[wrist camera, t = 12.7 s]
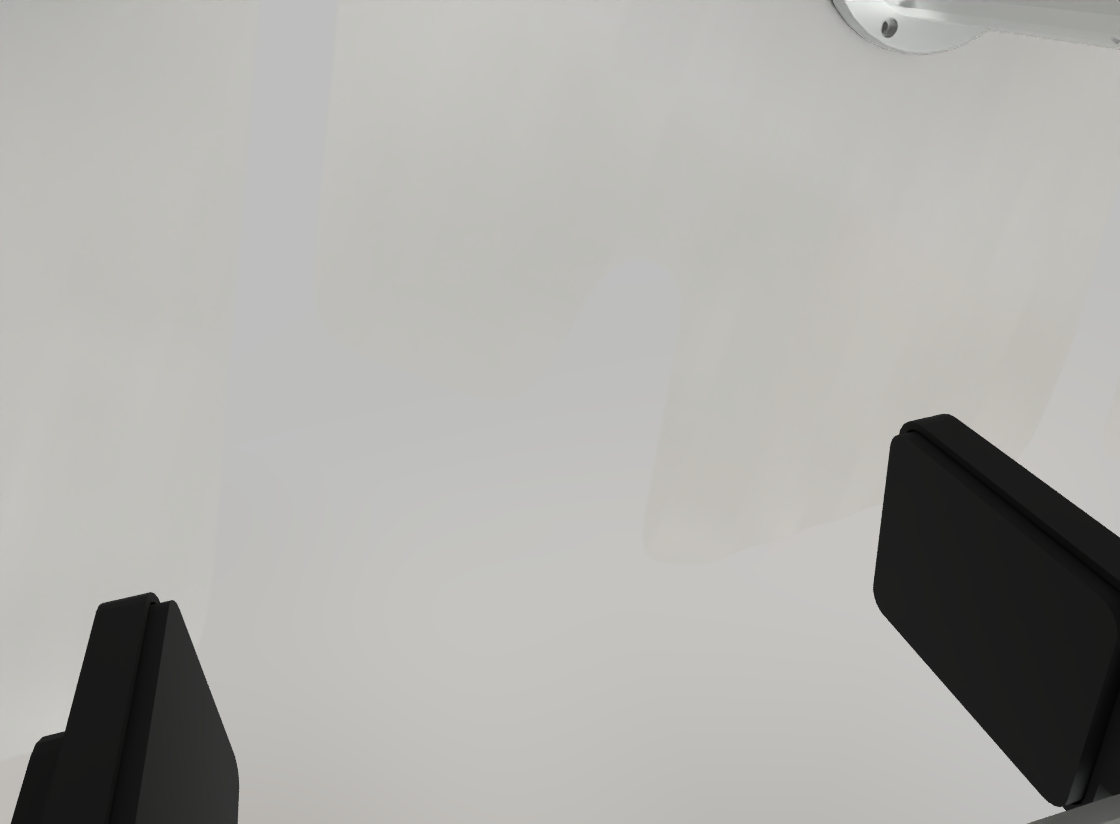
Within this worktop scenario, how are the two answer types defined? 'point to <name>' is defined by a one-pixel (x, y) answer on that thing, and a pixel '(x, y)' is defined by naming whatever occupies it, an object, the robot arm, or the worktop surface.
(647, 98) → the worktop surface
